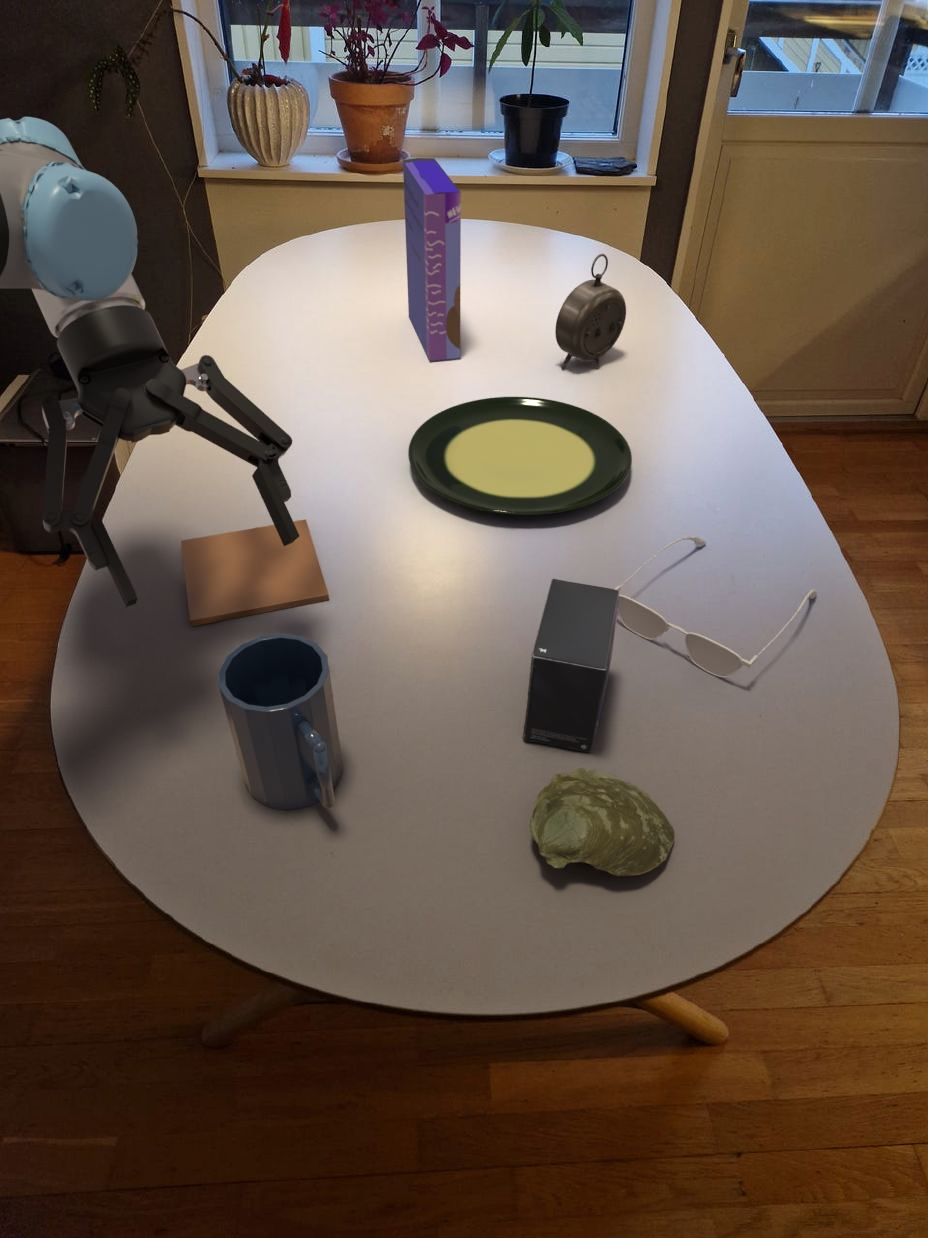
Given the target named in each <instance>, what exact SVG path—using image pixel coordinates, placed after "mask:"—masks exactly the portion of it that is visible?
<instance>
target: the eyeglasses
mask: <svg viewBox="0 0 928 1238" xmlns="http://www.w3.org/2000/svg"><path fill="white" fill-rule="evenodd" d="M685 540H690V541H692V542H694V545H695V546H696V548H701V547H703V546H704V545H706V544H707V541H706V539H704V538H701V537H699V536H693V535H692V536H691V535H690V536H684V537H680V538H678V539H676V540H673V541H672V542H670V543H668V544H667V545H665V546H664V547H662V549H661V550H659V551H658V552H657V553H655V554H653V556H652V557H651V558H649V559H648V560H647V561H646V562H645V563H643V564H642V565H641V566H640V567H639V568H638V569H636V570H635V571H634V573H632V574H631V575H630V576H629V577H628V578H627V579H626V580H625V581H624V582H623V583H622V584H621V585H617V586H616V587H615V588H614V589H615V590H618V591H619V592H620V591H621V588H622V587H623V586H624V585H625V584H626V583H627V582H628V581H629V580H630V579H632V578H633V577H634V576H635V574H637V573H638V572H639V571H640V570H641V569H642V568H644V566H645V565H647V564H648V563H649V562H651V561H652V560H653V559H654V558H655V557H657V556H658V555H659V554H660V553H662V552H663V551H665V550H666V549H668V548H669V547H671V546H672V545H674V544H676V543H678V542H681V541H685ZM817 594H818V591H817V590H816V589H815V588H812V589H810V591H808V593H807V594H806V595H805V597H804V598H803V600H802V602H801V604H800V605H799V606H798V607H797V608H798V609H797V610H796V612H795V613H794V614H793V616H792V617H791V618H790V620H788V622H787V623H786V624H785V625H784V626H783V628H782V629H781V630H780V631H779V632H778V633H777V634H776V636H774V637H773V639H772V640H770V642H769V643H768V644H766V646H764V648H763V649H762V650H760V652H759V653H757V655H756V654H755V655H753V656H752V658H751V659H750V660H747V659H745V658H742V657H741V655H740V654H739V653H737V652H735V651H734V650H732V649H731V648H729V647H727V646H725V645H723V644H721V643H719V642H717V641H715V640H713V639H711V638H709V637H706V636H704V635H702V634H699V633H697V632H692V631H689V632H688V631H686V630H685V629H683V628H682V627H680V626H679V625H676V624H673V623H670V622H668V621H667V620H666V618H665V617H664V616H662V615H661V614H660V613H658V612H657V611H655V610H654V609H652V608H651V607H649V606H647V605H645V604H643V603H641V602H639V601H637V600H635V599H633V598H632V597H629V596H627V595H624V594H619V599H618V610H617V614H618V617H619V618H620V621H621V623H622V624H623V625H624V627H626V628H627V629H628V630H630V631H631V632H632V633H634V634H635V635H638V636H639V637H642V638H644V639H647V640H650V641H651V640H652V641H653V640H657V639H658V638H660V637H661V636H663V634H664V633H667V632H668V631H669V629H670V628H673V629H675V630H676V631H678V632H680V633H682V634H684V635H685V637H684V642H685V648H686V651H687V654H688V656H689V658H690V660H691V662H692V663H693V664H695V665H696V666H697V667H698V668H700V669H701V670H703V671H705V672H706V673H708V674H711V675H712V676H715V677H718V678H723V679H725V678H729V677H730V676H732V675H734V674H735V673H737V672H738V671H739V670H741V668H742V667H747V668H749V669H751V667H752V666H753V665H754V664H755V662H757V661H758V657H759V656H760V655H761V654H762V653H763V652H764V651H765V650H766V649H767V648H768V647H769V646H770V645H771V644H772V643H773V642H774V641H775V640H776V639H777V638H778V637H779V635H781V633H782V632H783V631H784V630H785V629H786V628H787V626H788V625H789V624H790V623H791V622H792V621H793V619H794V618H795V617H796V616H797V614H798V613H800V611H801V610H802V608H803V606H804V605H805V604H806V602H807V600H808V598H809V599H810V600H813V599H815V598H816V596H817Z"/></svg>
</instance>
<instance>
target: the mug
mask: <svg viewBox="0 0 928 1238" xmlns="http://www.w3.org/2000/svg"><path fill="white" fill-rule="evenodd" d="M332 687H333V686H332V679H331V671H330V666H329V659H328V655H327V654H326V652H325V651H324V649H322V648H321V646H320V645H319V644H318V643H317V642H315V641H313V640H312V639H311V640H310V639H308V638H307V637H304V636H302V635H297V634H291V633H290V634H289V633H275V634H266V635H261V636H257V637H256V638H253V639H251V640H248V641H246V642H243V643H242V644H240V645H239V646H237V648H235V649H234V650H233V651H232V652H231V653H229V654H228V655H227V656H226V657H225V659H224V661H223V663H222V664H221V667H220V669H219V670H218V689H219V692H220V697H221V700H222V703H223V708H224V711H225V714H226V719H227V722H228V725H229V730H230V734H231V738H232V741H233V744H234V749H235V752H236V757H237V760H238V763H239V767H240V770H241V774H242V778H243V782H244V783H245V785H246V789H247V790H248V792H249V794H250V795H251V796H252V797H253V798H254V799H255V800H256V801H257V802H259V803H260V804H262V805H264V806H266V807H269V808H272V809H277V810H283V811H284V810H285V811H287V810H298V809H303V808H306V807H309V806H312V805H314V804H316V803H318V802H320V803H321V805H322V806H323V807H324V809H325V808H326V809H332V808H333V807H334V806H335V804H336V797H335V793H334V788H335V787H336V786H337V784H338V782H339V781H340V779H341V776H342V772H343V757H342V750H341V742H340V737H339V728H338V721H337V716H336V706H335V701H334V694H333V688H332Z"/></svg>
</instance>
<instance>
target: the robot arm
mask: <svg viewBox="0 0 928 1238" xmlns="http://www.w3.org/2000/svg"><path fill="white" fill-rule="evenodd" d="M138 244H139V240H138V227H137V222H136V218H135V215H134V212H133V210H132V208H131V206H130V204H129V202H128V200H127V199H126V197H125V196H124V194H123V193H122V192H121V191H120V189H119V188H118V187H117V186H115V184H113V183H112V182H111V181H110V180H108V178H107V179H106V177H104V176H102V175H100V174H98V173H95V172H92V171H89V170H87V169H86V168H85V167H84V166H83V165H82V163H81V161H80V159H79V157H78V156H77V154H76V152H75V150H74V148H73V146H72V144H71V143H70V140H69V139H68V137H67V136H66V135H65V134H64V132H63V131H62V130H60V128H58V127H57V126H56V125H54V124H53V123H50V122H49V121H47V120H45V119H41V118H37V117H33V116H23V117H22V118H19V119H18V120H13V119H11V118H10V117H7V118H2V119H0V290H1V289H30V290H31V291H32V293H33V295H34V298H35V301H36V302H37V305H38V307H39V309H40V311H41V313H42V315H43V319H44V320H45V322H46V324H47V327H48V329H49V331H50V333H51V335H52V336H54V337H55V338H57V339H56V346H57V349H58V351H59V353H60V355H61V357H62V360H63V362H64V364H65V366H66V368H67V371H68V372H69V374H70V376H71V379H72V381H73V383H74V385H75V387H76V390H77V394H78V395H77V396H78V397H75V398H69V399H68V398H67V399H61V400H58V399H57V398H55V397H53V396H47V397H45V398H43V400H42V402H41V411H42V418H43V422H44V424H45V428H46V430H47V434H48V439H47V450H46V453H47V454H46V464H45V476H44V477H45V480H44V493H43V504H42V525H43V528H44V530H45V531H46V532H48V533H52V534H53V533H56V532H70V533H72V534H73V535H75V537H76V539H77V540H78V543H79V545H80V547H81V549H82V551H83V553H84V556H85V557H86V560H87V562H88V564H89V566H90V567H91V568H92V569H93V570H94V571H98V570H101V569H104V568H107V569H108V572H109V574H110V576H111V578H112V580H113V582H114V584H115V586H116V589H117V592H118V593H119V595H120V597H121V599H122V602H123V604H124V606H125V608H129V607H131V606H134V605H136V604H137V601H138V600H139V597H138V595H137V593H136V590H135V589H134V587H133V584H132V582H131V580H130V577H129V576H128V574H127V571H126V569H125V567H124V564H123V562H122V560H121V558H120V556H119V554H118V552H117V550H116V547H115V546H114V543H113V540H112V539H111V537H110V535H109V533H108V530H107V528H106V526H105V524H104V522H103V520H102V519H98V520H95V521H91V519H92V516H93V513H94V510H95V508H96V505H97V503H98V500H99V496H100V493H101V490H102V487H103V486H104V485H103V484H104V483H105V482H104V481H105V480H106V477H107V473H108V470H109V468H110V465H111V462H112V459H113V456H114V455H115V451H116V448H117V446H118V443H119V440H122V441H125V442H131V444H134V443H137V442H140V441H143V440H144V439H146V438H147V437H149V436H158V435H159V436H161V435H163V434H166V433H170V431H171V430H172V429H173V428H174V427H175V426H176V427H178V428H180V429H181V430H184V431H185V432H189V433H190V432H191V433H194V434H195V435H197V436H199V437H201V438H202V439H204V440H206V441H208V442H210V443H212V444H214V445H215V446H217V447H219V448H221V449H223V450H225V451H226V452H228V453H230V454H232V455H233V456H235V457H237V458H239V459H240V460H243V461H244V462H246V463H248V464H250V465H252V466H254V467H255V468H256V469H255V470H254V472H253V473H252V474H251V477H252V480H253V481H254V483H255V487H256V488H257V490H258V492H259V495H260V497H261V499H262V501H263V503H264V505H265V508H266V510H267V512H268V515H269V517H270V519H271V521H272V523H273V525H275V528H276V530H277V532H278V534H279V536H280V539H281V541H282V543H283V545H284V546H286V545H289V544H291V543H293V542H294V541H295V540H296V539H297V538H298V537H299V533H298V531H297V529H296V527H295V525H294V522H293V521H294V520H293V518H292V516H291V514H290V511H289V509H288V507H287V505H286V502H288V501H289V500H290V499H291V498H292V490H291V487H290V486H289V483H288V480H287V479H286V477H285V475H284V474H285V473H283V470H282V468H281V466H280V462H279V459H281V458H282V457H283V456H285V455H286V453H287V452H288V451H289V449H290V448H291V446H292V445H293V438H292V437H291V436H290V434H289V433H287V432H286V431H285V430H284V429H283V428H282V427H281V426H279V425H278V423H276V422H275V421H274V420H272V419H271V417H269V415H267V414H266V413H265V412H264V411H263V410H262V409H261V408H259V407H258V406H257V405H256V404H255V403H254V402H253V401H251V399H249V398H248V397H247V396H246V395H245V394H244V393H242V391H240V390H239V388H237V387H236V386H234V384H232V382H230V381H229V380H228V379H227V378H226V377H225V376H224V374H223V372H222V371H221V369H220V367H219V366H218V364H217V362H216V360H215V359H214V357H213V356H211V355H209V354H204V355H202V356H200V358H199V361H198V362H197V363H194V364H192V365H189V366H187V367H185V368H182V369H181V368H179V367H178V366H177V365H176V364H175V363H174V362H173V360H172V359H171V356H170V354H169V352H168V350H167V348H166V345H165V344H164V341H163V338H162V337H161V334H160V333H159V330H158V329H157V326H156V324H155V321H154V320H153V317H152V315H151V313H150V312H149V311H147V310H145V309H146V302H145V300H144V297H143V295H142V293H141V291H140V288H139V286H138V284H137V283H136V280H135V278H134V276H133V274H132V273H133V271H134V267H135V265H136V261H137V257H138ZM187 385H191V386H193V387H194V388H195V389H197V390H198V391H199V392H206V394H207V395H208V396H209V398H210V399H211V400H212V401H213V402H214V403H215V404H216V405H218V406H219V408H221V409H222V410H223V411H224V412H225V413H227V414H228V415H229V416H230V417H231V418H232V419H233V420H235V421H236V422H237V423H238V424H239V425H240V426H241V427H242V428H243V429H245V430H246V431H247V432H248V433H249V434H250V435H249V434H248V433H246V432H244V431H242V430H240V429H238V428H236V427H235V426H233V425H231V424H229V423H228V422H227V421H224V420H222V419H221V418H218V417H217V416H215V415H213V414H211V413H210V412H208V411H207V410H205V409H203V407H202V406H201V405H200V404H199V403H197V402H195V401H193V400H191V399H190V398H188V397H186V396H185V391H186V387H187ZM80 415H82V416H83V417H84V418H86V419H87V420H89V421H90V422H92V423H93V424H95V425H97V426H99V427H100V428H101V429H100V431H99V434H98V438H97V441H96V445H95V447H94V450H93V453H92V456H91V459H90V462H89V464H88V467H87V470H86V473H85V475H84V478H83V481H82V484H81V487H80V489H79V492H78V494H77V498H76V500H75V503H74V505H73V509H72V510H63V501H64V487H65V472H66V471H65V470H66V461H67V459H66V458H67V447H68V446H67V445H68V444H67V443H68V442H67V441H68V440H67V431H70V430H71V431H72V430H73V429H74V427H75V426H76V418H77V417H78V416H80Z"/></svg>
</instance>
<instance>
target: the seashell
mask: <svg viewBox="0 0 928 1238" xmlns="http://www.w3.org/2000/svg"><path fill="white" fill-rule="evenodd" d="M535 801H536V802H535V805H534V808H533V809H532V815H531V818H530V821H529V830H530V834H531V836H532V838H533V839H534V841H535V843H536V844H537V847H538V852H539V854H540V856H541V857H543V858H545V861H546V862H545V863H547V864H548V865H550V866H551V867H553V868H554V869H560V870H562V869H564V868H565V866H566V865H568V864H571V863H582V864H588V865H590V866H592V867H593V868H595V869H596V870H599V871H604V872H606V873H609V874H610V875H613V876H615V877H625V876H630V877H631V876H640V875H643V874H646V873H650V872H651V871H652V870H653V869H655V868H657V867H659V866H660V865H661V864H662V863H663V862H664V861H666V860H667V858H668V856H669V855H670V854H669V853H670V852H671V850H672V847H673V844H674V842H675V837H676V836H675V834H676V832H675V829H674V827H673V826H672V824H671V822H670V821H669V820H668V818H667V816H666V815H665V813H664V812H663V811H662V810H661V808H660V807H659V806H658V805H657V803H656V802H655V801H654V800H653V799H652V798H651V797H650V795H649V793H647V792H645V791H643V790H642V789H640V788H639V787H637V786H636V785H634V784H633V783H631V782H629V781H625V780H623V779H622V778H620V777H618V776H616V775H613V774H607V773H603V772H602V773H601V772H599V771H598V770H595V769H593V770H592V769H585V768H583V767H579V768H578V769H577V770H574V771H572V772H570V773H556V774H554V775H553V776H552V778H551V781H550V783H549V784H547V785H546V786H545V787H544V788H543V789H541V790H540V791H539V793H538V795H537V797H536V800H535Z"/></svg>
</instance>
